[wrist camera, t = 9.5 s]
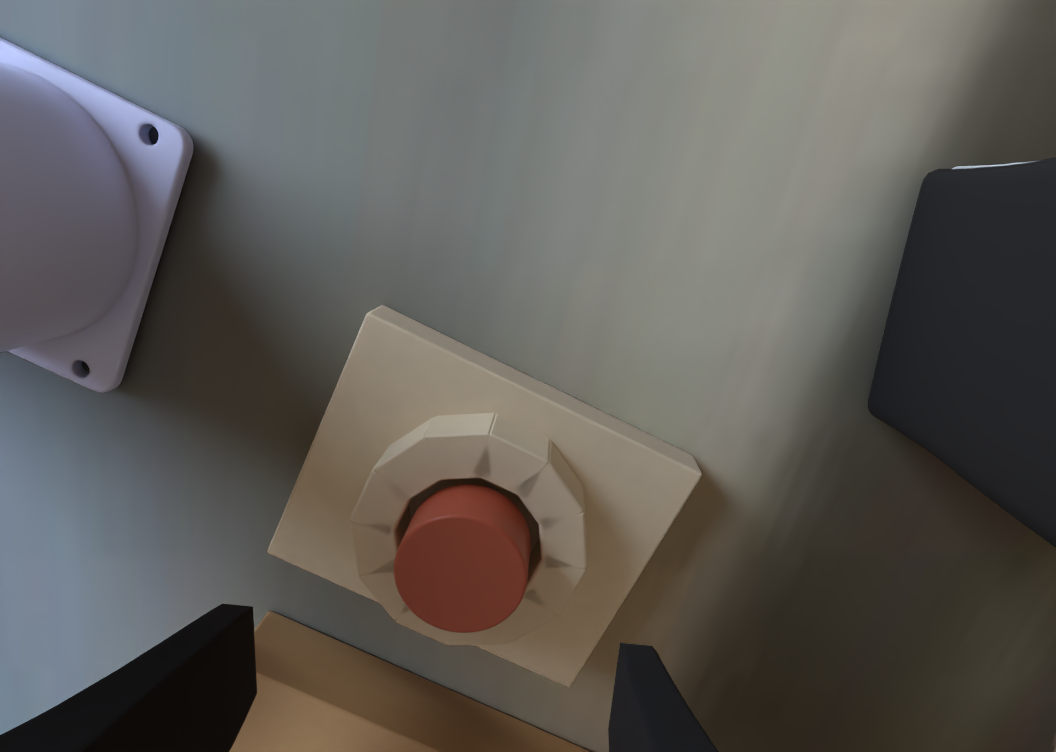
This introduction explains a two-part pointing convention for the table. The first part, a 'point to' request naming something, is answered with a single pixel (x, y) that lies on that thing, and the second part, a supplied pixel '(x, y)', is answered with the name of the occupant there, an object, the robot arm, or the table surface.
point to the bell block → (488, 460)
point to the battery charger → (979, 334)
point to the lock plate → (364, 704)
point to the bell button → (464, 559)
